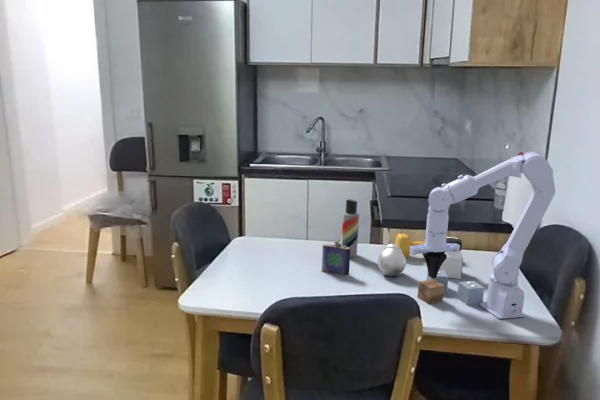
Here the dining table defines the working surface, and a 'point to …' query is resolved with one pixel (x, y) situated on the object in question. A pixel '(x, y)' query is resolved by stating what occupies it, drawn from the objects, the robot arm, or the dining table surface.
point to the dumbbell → (405, 243)
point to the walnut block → (430, 291)
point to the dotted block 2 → (470, 292)
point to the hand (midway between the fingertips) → (432, 276)
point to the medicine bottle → (453, 260)
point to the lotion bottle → (350, 227)
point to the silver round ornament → (392, 260)
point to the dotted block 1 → (440, 279)
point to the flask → (336, 258)
